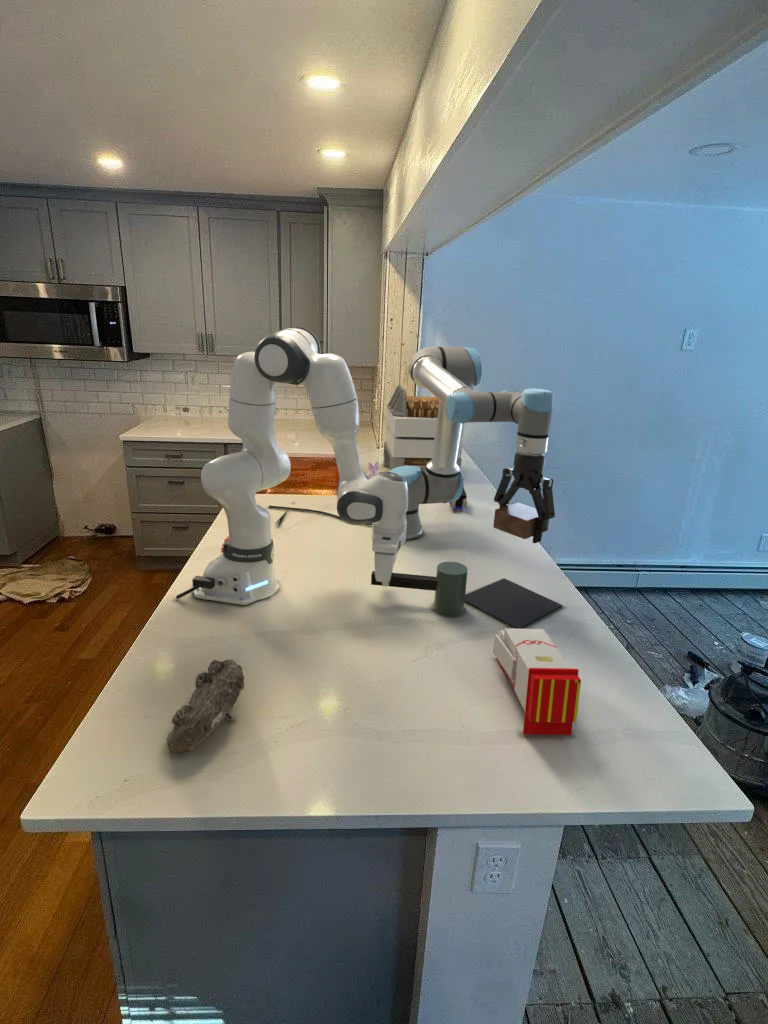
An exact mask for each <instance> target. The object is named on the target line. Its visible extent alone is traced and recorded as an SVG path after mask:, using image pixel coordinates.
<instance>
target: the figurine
mask: <svg viewBox="0 0 768 1024" xmlns="http://www.w3.org/2000/svg"><path fill="white" fill-rule="evenodd" d="M379 465H380V463H379V461H376V462H375V463H374V465H372V463H371V462H368V463H367V468H368V469H367V473H366V476H367V477H368V478H369V479H371V478H372V477H374V476H376V475H377V474H378V473H379V471H378V469H379Z"/></svg>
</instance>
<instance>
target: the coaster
mask: <svg viewBox="0 0 768 1024" xmlns="http://www.w3.org/2000/svg"><path fill="white" fill-rule="evenodd" d="M464 604H467V605H469V606H471V607H473V608H474V609H477V610H478V611H481V612H482V613H484V614H486V615H488V616H489V617H492V618H493V619H495V620H497V621H499V622H501V623H502V624H505V625H507V626H509V628H515V629H524V628H525V627H527V626H529V625H531V624H533V623H535V622H537V621H538V620H540V619H543V618H544V617H546V616H548V615H550V614H552V613H554V612H556V611H558V610H559V609H562V608H563V604H561V603H559V602H557V601H554V600H553V599H551V598H548V597H546V596H543V595H542V594H539V593H537V592H535V591H533V590H531V589H529V588H526V587H524V586H522V585H519V584H517V583H516V582H514V581H511V580H509V579H507V578H502V579H500V580H497V581H495V582H492V583H490V584H488V585H485V586H483V587H480V588H478V589H476V590H473V591H470V592H468V593H465V603H464Z"/></svg>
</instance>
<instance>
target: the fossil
mask: <svg viewBox="0 0 768 1024" xmlns="http://www.w3.org/2000/svg"><path fill="white" fill-rule="evenodd" d="M243 670H244V669H243V667H242V665H240V664H237V662H236V661H235V660H234V659H232V658H231V659H227V658H226V659H224V660H223V661H222V660H217V659H212V660H211V661H210V663H209V665H208V666H207V671H201V672H199V673H198V674H197V675H196V676H195V680H194V684H195V685H194V687H195V689H194V690H193V693H192V694H191V697H190V698H189V700H188V704H184V705H182V706H181V707H180V709H177V710H176V711H175V713H174V715H173V716H172V718H171V723H172V724H173V727H172V730H171V731H170V732H168V734H167V738H166V741H167V742H166V745H167V749H168V750H169V751H173V752H174V753H176V754H178V753H182V752H188V751H189V752H192V751H193V750H195V748H196V747H197V746H199V744H200V743H201V742H203V741H204V740H205V739H206V738H207V737H208V736H209V735H210V734H211V733H212V732H214V730H215V729H217V727H218V726H219V724H220V722H221V721H222V720H223V719H224V718H225V716H226V717H227V719H229V720H233V717H232V715H230V714H229V710H230V709H231V708H234V706H235V704H236V703H237V702H238V699H239V697H240V695H241V693H242V691H243V690H245V689H244V688H245V675H244V671H243Z"/></svg>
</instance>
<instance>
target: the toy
mask: <svg viewBox="0 0 768 1024" xmlns="http://www.w3.org/2000/svg"><path fill="white" fill-rule="evenodd" d="M499 632H500V633H499V634H496V633H495V635H494V641H493V649H492V653H493V654H494V655H495V657H496V658H495V659H496V660H497V662H498V663H499V665H500V668H501V670H502V671H503V672H504V674H505V676H506V678H507V680H508V681H509V683H510V685H511V686H512V688H513V689H514V693H515V694H516V696H517V698H518V701H519V702H520V704H521V706H522V708H523V711H524V719H523V728H522V734H523V735H524V736H525V735H527V736H572V733H573V725H574V723H577V718H578V711H579V702H580V694H581V693H580V692H581V686H582V685H581V684H582V679H581V677H580V676H579V671H580V670H579V669H578V668H573V667H572V665H571V664H570V663H569V662H568V660H567V659H566V657H565V656H564V654H562V652H561V650H560V649H559V648H558V646H557V645H556V644H555V643H554V641H553V640H552V639H551V637H550V636H549V634H548V633H547V631H546V630H545V629H544V628H521V629H515V628H512V627H509V628H508V627H507V628H506V627H505V628H504V629H501V630H500V631H499Z"/></svg>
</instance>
